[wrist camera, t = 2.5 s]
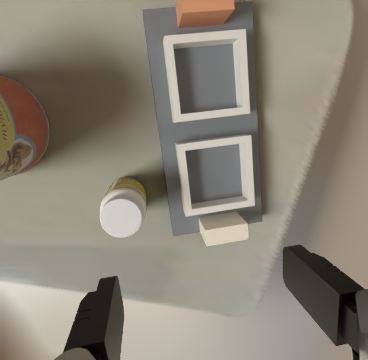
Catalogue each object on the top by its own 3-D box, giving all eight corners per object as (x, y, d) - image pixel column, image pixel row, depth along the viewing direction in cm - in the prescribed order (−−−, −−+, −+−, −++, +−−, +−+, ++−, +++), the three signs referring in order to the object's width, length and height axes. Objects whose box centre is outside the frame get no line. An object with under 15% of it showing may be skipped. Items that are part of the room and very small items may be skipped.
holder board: (143, 15, 28) (141, -9, 23) (247, 7, 29) (268, -18, 24) (172, 231, 34) (176, 251, 29) (257, 217, 36) (276, 234, 30)
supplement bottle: (122, 218, 33) (113, 250, 25) (100, 189, 32) (84, 212, 24) (153, 199, 33) (155, 224, 25) (133, 169, 32) (128, 185, 24)
